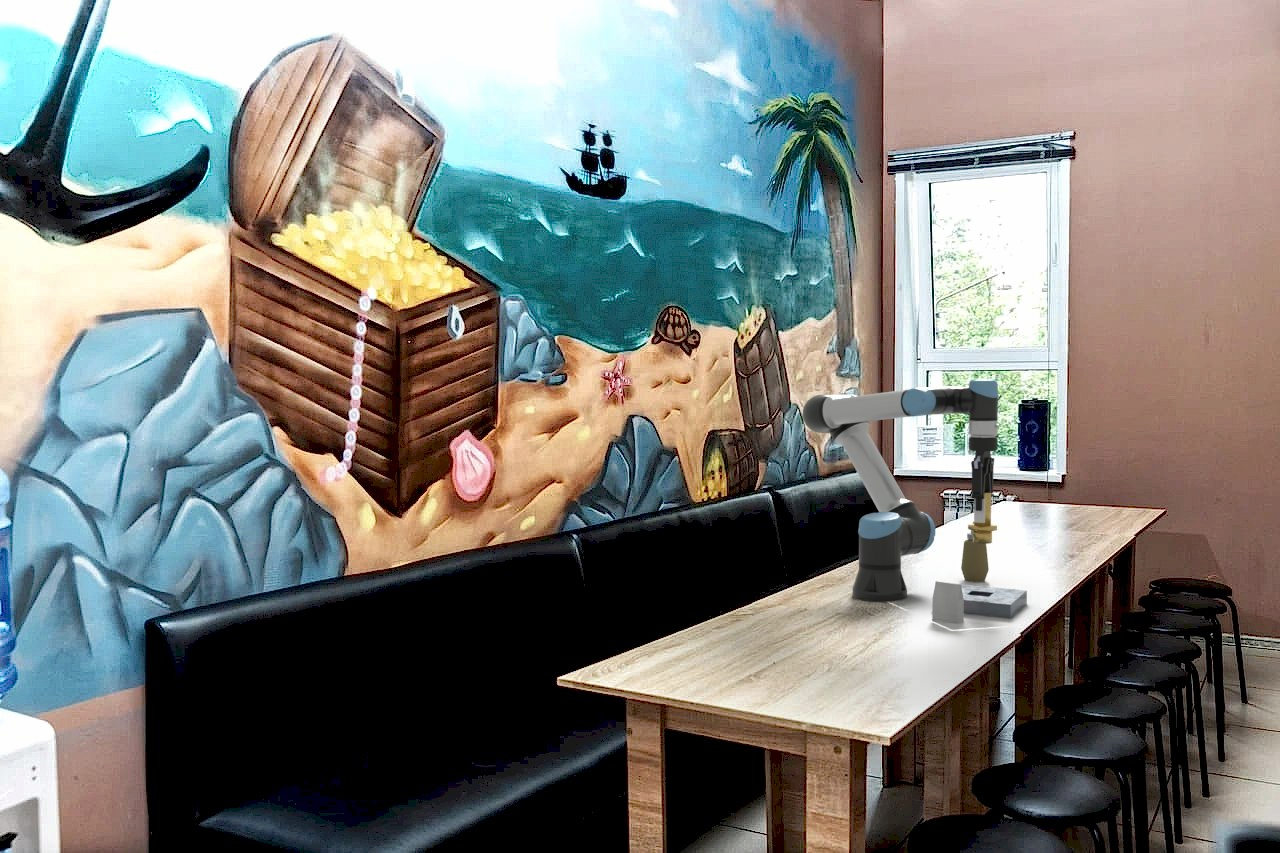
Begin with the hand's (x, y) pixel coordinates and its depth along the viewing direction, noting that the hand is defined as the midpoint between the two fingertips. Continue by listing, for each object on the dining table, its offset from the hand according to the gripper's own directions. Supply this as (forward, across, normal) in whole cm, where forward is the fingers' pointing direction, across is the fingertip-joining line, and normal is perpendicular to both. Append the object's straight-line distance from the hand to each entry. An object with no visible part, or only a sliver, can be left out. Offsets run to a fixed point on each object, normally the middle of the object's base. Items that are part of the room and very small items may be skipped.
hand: (982, 521), depth 297 cm
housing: (+23, -7, -2) cm, 24 cm away
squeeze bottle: (+23, +30, +11) cm, 39 cm away
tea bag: (+23, -26, +1) cm, 35 cm away
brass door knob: (+6, 0, 0) cm, 6 cm away
